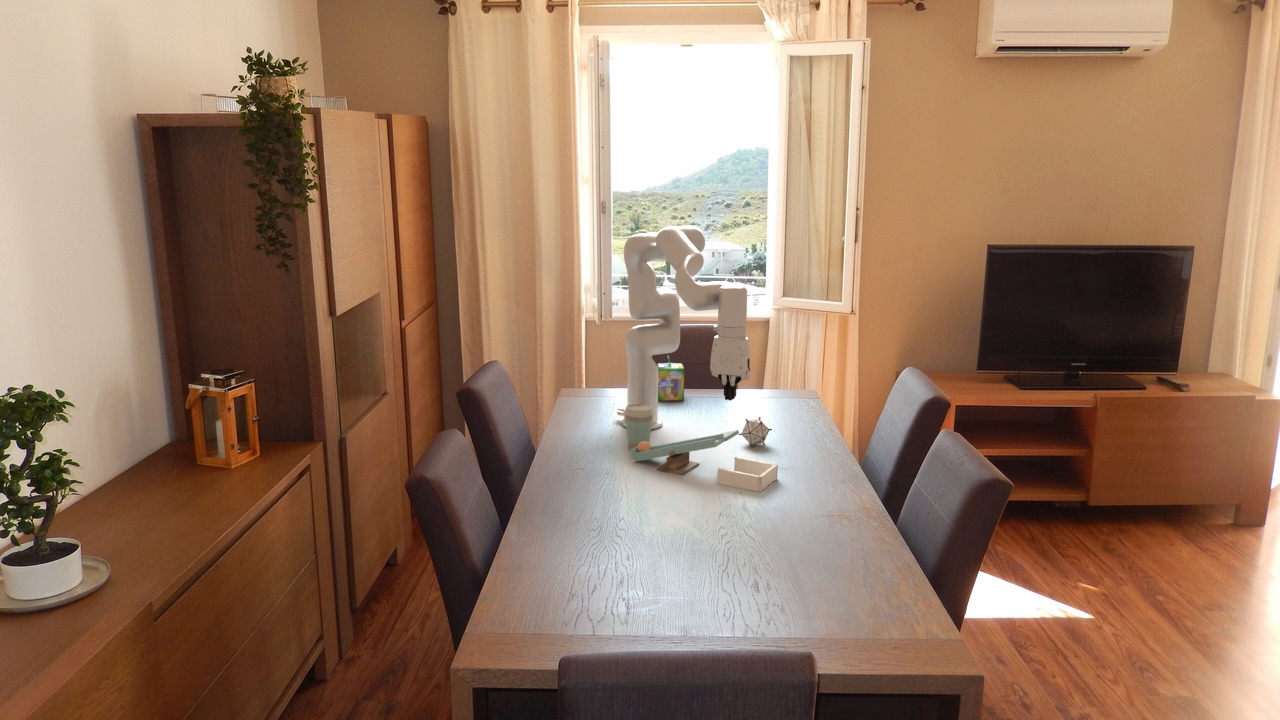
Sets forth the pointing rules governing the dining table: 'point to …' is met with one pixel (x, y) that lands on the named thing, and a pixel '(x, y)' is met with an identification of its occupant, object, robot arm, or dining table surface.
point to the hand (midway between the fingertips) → (729, 398)
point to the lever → (683, 446)
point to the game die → (755, 432)
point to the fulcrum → (678, 464)
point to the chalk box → (670, 381)
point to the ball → (643, 446)
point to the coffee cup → (638, 423)
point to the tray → (748, 474)
